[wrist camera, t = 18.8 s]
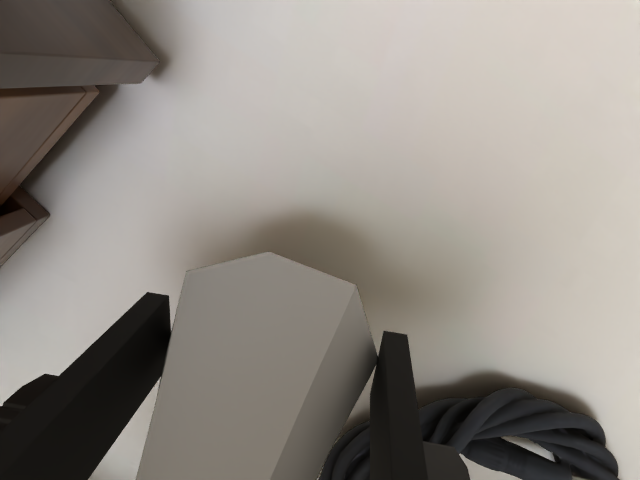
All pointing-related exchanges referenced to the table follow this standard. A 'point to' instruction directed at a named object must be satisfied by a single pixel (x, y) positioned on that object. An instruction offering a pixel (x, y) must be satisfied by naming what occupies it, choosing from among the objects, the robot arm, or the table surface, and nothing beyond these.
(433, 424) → the cable
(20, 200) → the cabinet
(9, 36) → the drawer
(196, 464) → the flask
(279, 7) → the table surface
